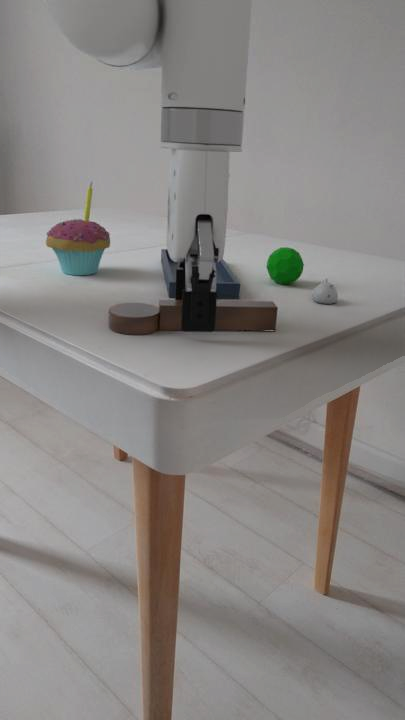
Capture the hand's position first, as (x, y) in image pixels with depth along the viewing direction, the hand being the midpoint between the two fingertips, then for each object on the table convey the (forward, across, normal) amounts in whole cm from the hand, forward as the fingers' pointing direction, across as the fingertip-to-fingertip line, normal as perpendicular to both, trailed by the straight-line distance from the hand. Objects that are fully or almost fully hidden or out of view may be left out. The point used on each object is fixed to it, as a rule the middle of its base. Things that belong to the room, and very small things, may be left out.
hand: (193, 316), depth 58 cm
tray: (+1, -22, +2) cm, 22 cm away
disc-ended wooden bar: (+1, 0, 0) cm, 1 cm away
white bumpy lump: (+1, -10, +18) cm, 20 cm away
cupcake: (+1, -24, -14) cm, 27 cm away
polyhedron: (+1, -20, +14) cm, 24 cm away
